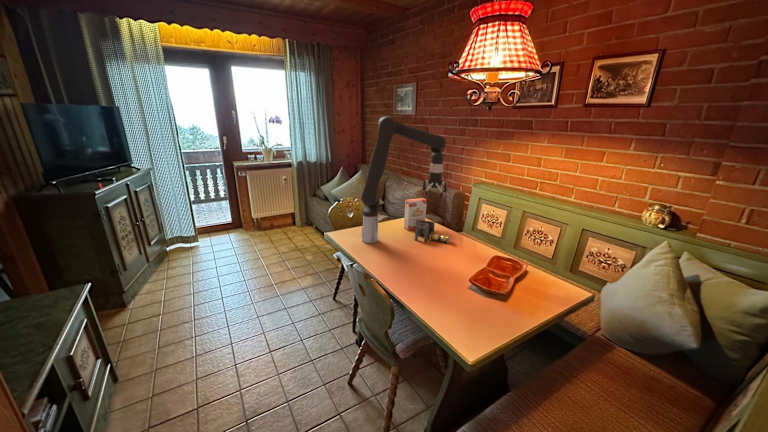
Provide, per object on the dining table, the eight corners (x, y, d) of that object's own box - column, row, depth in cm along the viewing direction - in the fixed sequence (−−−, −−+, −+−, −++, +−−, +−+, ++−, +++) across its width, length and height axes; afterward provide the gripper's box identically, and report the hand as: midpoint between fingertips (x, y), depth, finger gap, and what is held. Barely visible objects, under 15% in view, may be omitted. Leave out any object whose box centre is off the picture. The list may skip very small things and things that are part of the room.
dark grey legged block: (411, 239, 189) (412, 225, 185) (416, 233, 199) (416, 219, 196) (429, 242, 185) (431, 227, 182) (433, 236, 195) (434, 221, 192)
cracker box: (407, 231, 203) (409, 201, 196) (403, 228, 208) (404, 199, 201) (425, 228, 209) (427, 199, 202) (420, 225, 214) (422, 197, 207)
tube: (429, 241, 187) (429, 234, 186) (430, 238, 191) (431, 231, 190) (448, 244, 183) (449, 237, 182) (449, 241, 187) (450, 234, 186)
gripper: (422, 171, 174) (421, 197, 179) (447, 173, 169) (444, 200, 174) (425, 169, 180) (424, 194, 186) (449, 170, 175) (446, 197, 181)
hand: (434, 197), depth 180 cm, fingers open, 8 cm apart
